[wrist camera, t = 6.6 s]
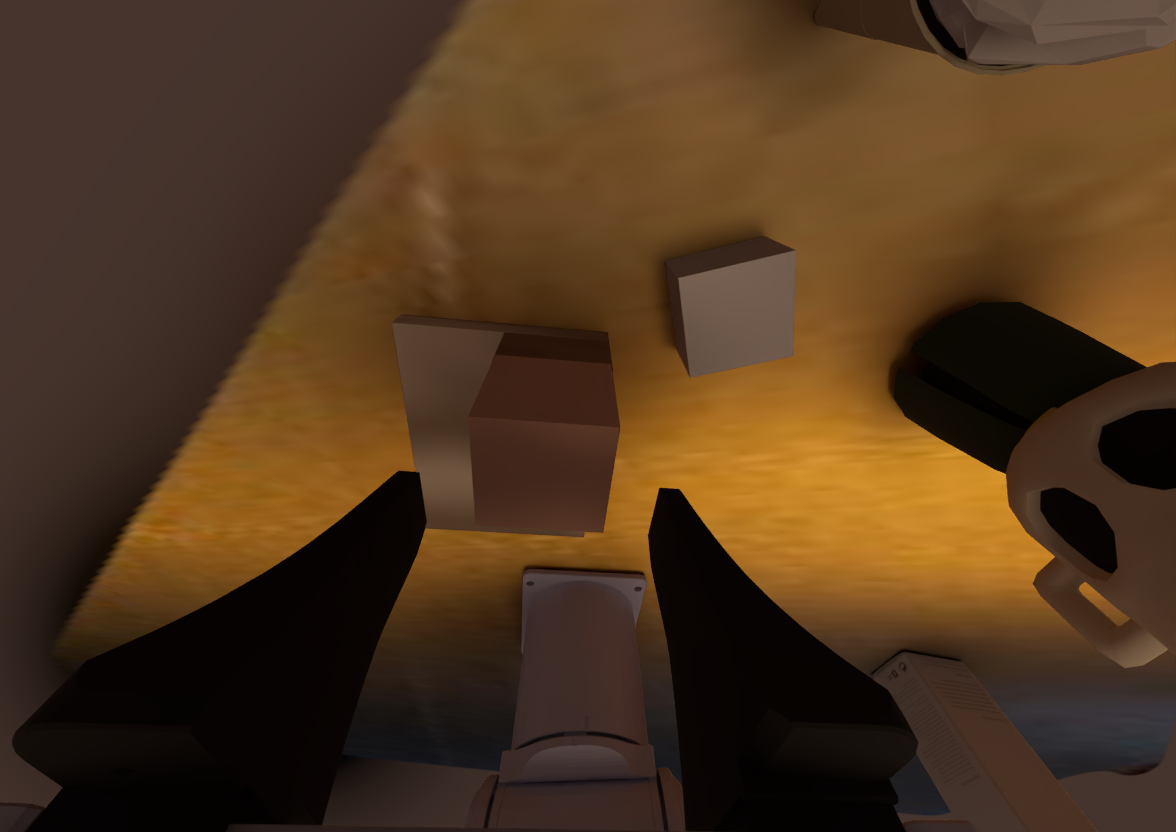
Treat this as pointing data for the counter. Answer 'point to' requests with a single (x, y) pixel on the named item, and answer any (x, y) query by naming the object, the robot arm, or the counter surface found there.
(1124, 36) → the ice cream cone
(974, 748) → the skincare box
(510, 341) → the walnut bar
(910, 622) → the counter surface
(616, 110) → the counter surface
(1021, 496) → the character mug
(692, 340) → the grey block
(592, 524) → the terracotta cube
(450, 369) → the birch board
